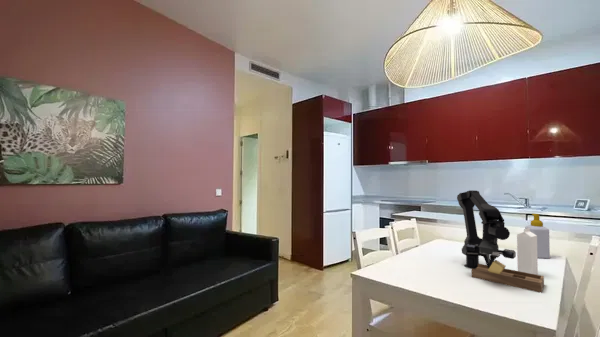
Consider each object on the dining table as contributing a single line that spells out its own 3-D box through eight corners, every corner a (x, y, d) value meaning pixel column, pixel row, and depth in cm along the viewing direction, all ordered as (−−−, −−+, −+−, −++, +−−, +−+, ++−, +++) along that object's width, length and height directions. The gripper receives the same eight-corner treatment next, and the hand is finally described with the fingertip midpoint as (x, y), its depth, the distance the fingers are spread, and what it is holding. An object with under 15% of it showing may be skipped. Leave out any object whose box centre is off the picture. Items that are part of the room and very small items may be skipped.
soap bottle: (541, 254, 171) (540, 213, 172) (550, 259, 163) (550, 215, 163) (524, 253, 173) (523, 213, 174) (532, 258, 165) (532, 214, 165)
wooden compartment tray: (478, 271, 141) (478, 263, 141) (544, 284, 124) (543, 276, 124) (471, 277, 133) (471, 268, 133) (541, 292, 115) (541, 283, 115)
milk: (537, 274, 137) (537, 229, 137) (532, 276, 134) (531, 230, 134) (523, 270, 142) (522, 227, 142) (517, 272, 139) (516, 228, 139)
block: (490, 268, 132) (496, 259, 131) (500, 274, 129) (505, 265, 128) (487, 270, 129) (493, 261, 128) (497, 276, 127) (503, 268, 125)
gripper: (462, 233, 132) (461, 267, 132) (511, 241, 119) (510, 278, 118) (469, 231, 140) (468, 262, 139) (516, 238, 126) (515, 273, 126)
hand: (489, 269), depth 131 cm, fingers closed, pressing on block
